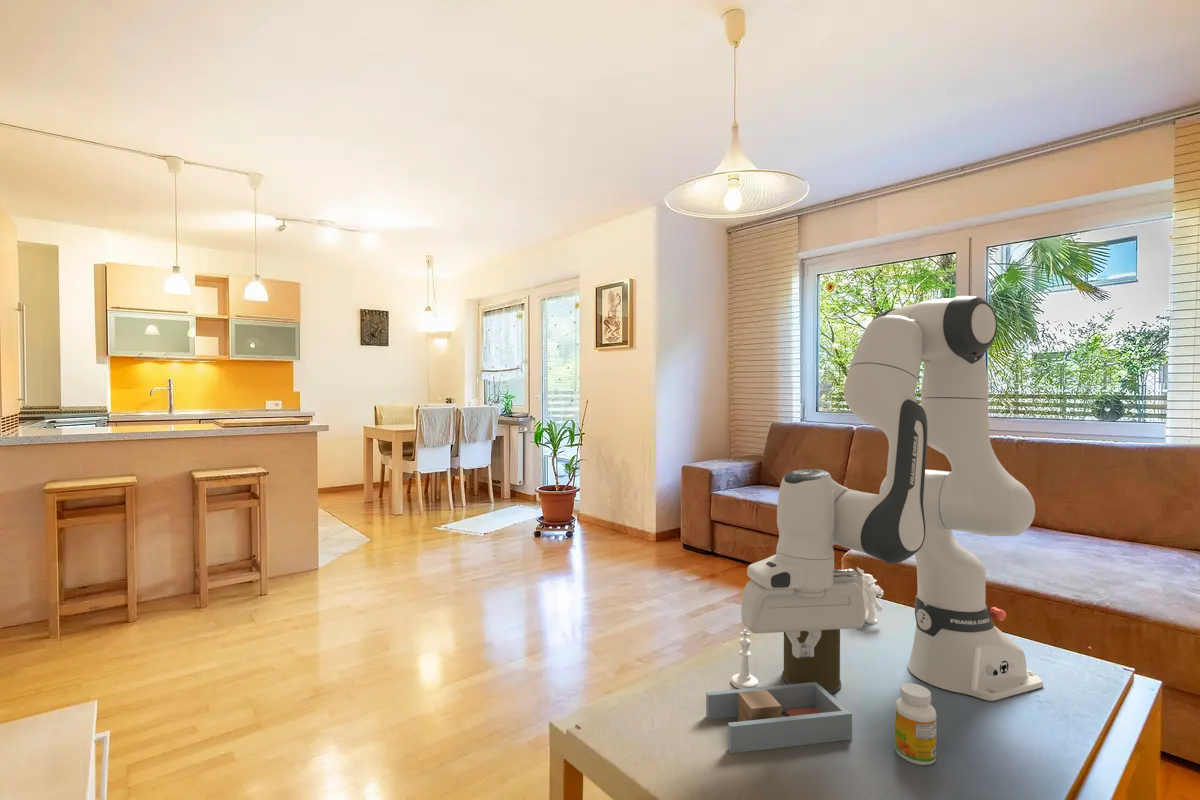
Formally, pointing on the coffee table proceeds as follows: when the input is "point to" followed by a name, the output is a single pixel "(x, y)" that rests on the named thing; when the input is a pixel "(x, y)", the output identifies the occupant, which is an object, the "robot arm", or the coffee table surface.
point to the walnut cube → (757, 706)
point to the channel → (784, 718)
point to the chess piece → (744, 667)
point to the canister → (815, 662)
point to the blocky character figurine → (870, 596)
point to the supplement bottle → (915, 725)
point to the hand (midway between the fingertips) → (802, 656)
